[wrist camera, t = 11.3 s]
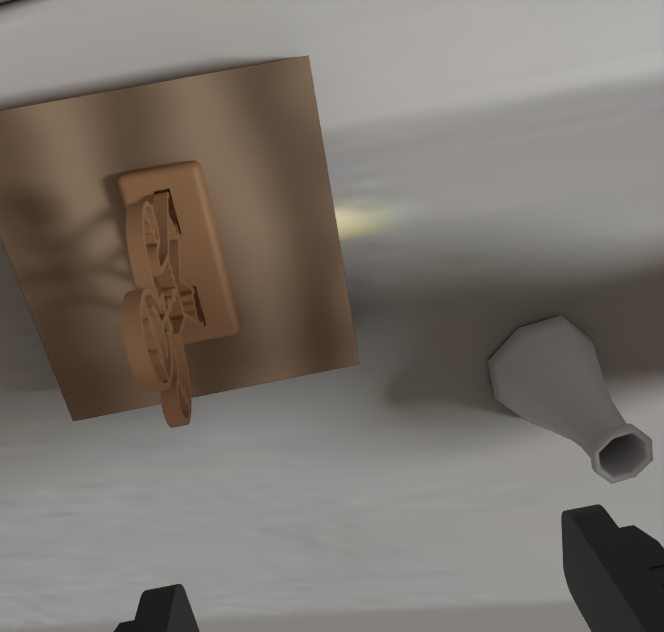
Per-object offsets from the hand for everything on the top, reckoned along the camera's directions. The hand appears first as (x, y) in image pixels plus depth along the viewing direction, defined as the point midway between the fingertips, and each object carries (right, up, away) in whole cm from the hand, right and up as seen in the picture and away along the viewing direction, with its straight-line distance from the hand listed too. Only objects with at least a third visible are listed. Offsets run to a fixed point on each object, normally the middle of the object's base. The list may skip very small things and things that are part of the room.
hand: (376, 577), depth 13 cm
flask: (+13, +2, +28) cm, 30 cm away
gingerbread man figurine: (-8, +9, +18) cm, 22 cm away
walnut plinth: (-9, +10, +21) cm, 25 cm away
